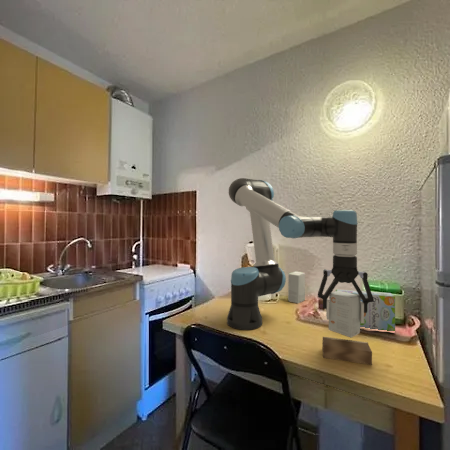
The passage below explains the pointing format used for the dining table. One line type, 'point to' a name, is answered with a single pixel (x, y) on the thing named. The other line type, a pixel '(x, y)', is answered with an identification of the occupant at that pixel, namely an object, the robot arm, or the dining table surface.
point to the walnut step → (347, 350)
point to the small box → (344, 313)
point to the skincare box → (296, 287)
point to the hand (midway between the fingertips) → (344, 319)
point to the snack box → (378, 311)
